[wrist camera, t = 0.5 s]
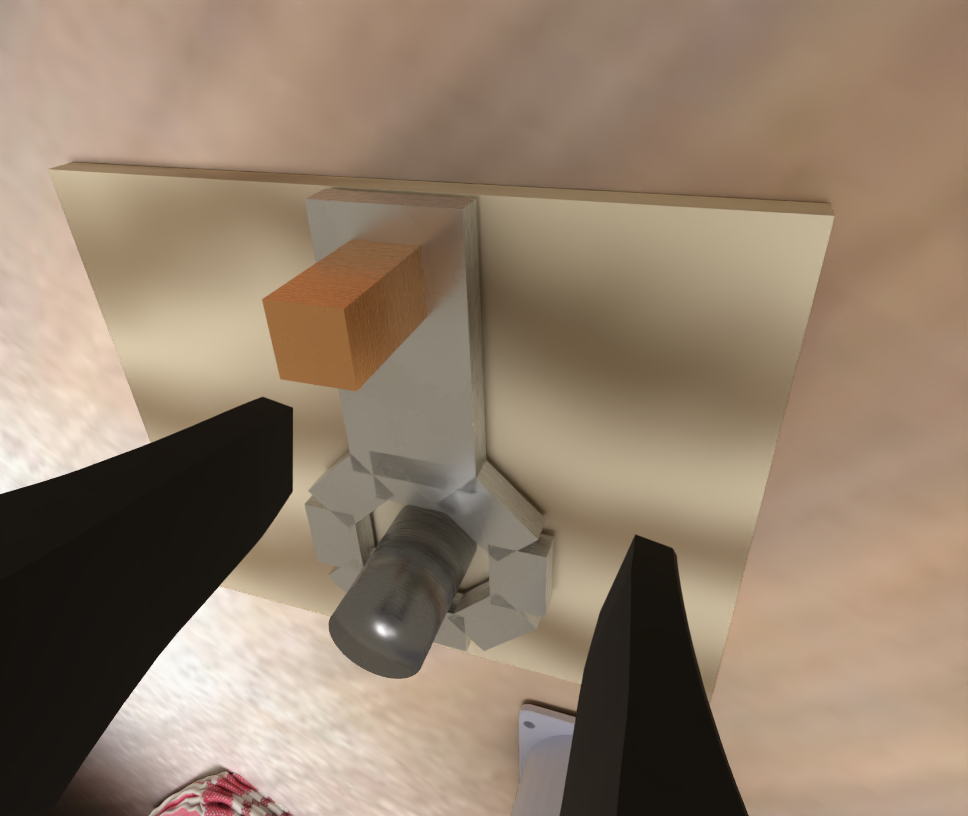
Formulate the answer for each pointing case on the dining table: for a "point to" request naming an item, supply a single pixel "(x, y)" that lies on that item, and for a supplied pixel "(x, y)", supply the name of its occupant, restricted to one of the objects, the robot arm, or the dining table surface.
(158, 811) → the dish towel
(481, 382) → the crank
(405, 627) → the post
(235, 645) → the dining table surface
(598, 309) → the board
